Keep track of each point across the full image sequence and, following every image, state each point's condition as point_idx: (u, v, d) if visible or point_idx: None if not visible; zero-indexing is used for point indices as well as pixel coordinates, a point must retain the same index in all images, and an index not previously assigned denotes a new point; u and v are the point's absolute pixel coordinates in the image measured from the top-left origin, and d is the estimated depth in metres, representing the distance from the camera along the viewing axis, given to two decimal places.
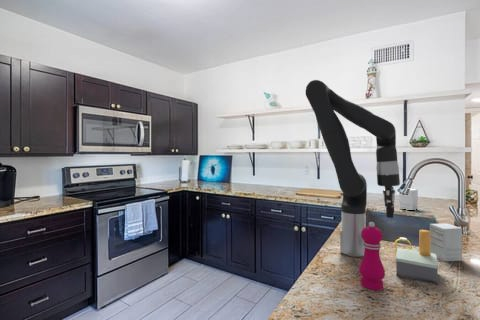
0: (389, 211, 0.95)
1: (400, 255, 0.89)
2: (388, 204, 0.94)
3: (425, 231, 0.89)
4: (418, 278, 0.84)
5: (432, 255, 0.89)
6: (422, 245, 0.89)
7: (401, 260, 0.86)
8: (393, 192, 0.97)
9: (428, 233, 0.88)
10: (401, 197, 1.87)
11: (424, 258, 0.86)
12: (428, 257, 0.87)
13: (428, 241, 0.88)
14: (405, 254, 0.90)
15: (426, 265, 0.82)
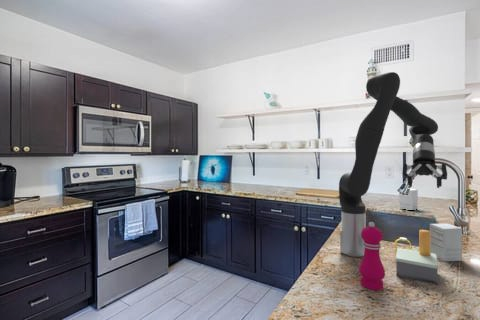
0: None
1: (400, 255, 0.89)
2: None
3: (425, 231, 0.89)
4: (418, 278, 0.84)
5: (432, 255, 0.89)
6: (422, 245, 0.89)
7: (401, 260, 0.86)
8: None
9: (428, 233, 0.88)
10: (401, 197, 1.87)
11: (424, 258, 0.86)
12: (428, 257, 0.87)
13: (428, 241, 0.88)
14: (405, 254, 0.90)
15: (426, 265, 0.82)
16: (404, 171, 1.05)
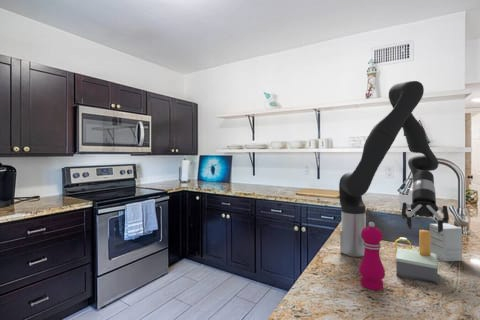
0: (442, 225, 0.92)
1: (400, 255, 0.89)
2: None
3: (425, 231, 0.89)
4: (418, 278, 0.84)
5: (432, 255, 0.89)
6: (422, 245, 0.89)
7: (401, 260, 0.86)
8: None
9: (428, 233, 0.88)
10: (401, 197, 1.87)
11: (424, 258, 0.86)
12: (428, 257, 0.87)
13: (428, 241, 0.88)
14: (405, 254, 0.90)
15: (426, 265, 0.82)
16: (403, 211, 1.00)
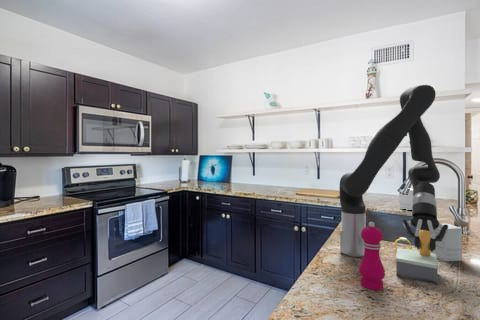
0: None
1: (400, 255, 0.89)
2: None
3: (425, 231, 0.89)
4: (418, 278, 0.84)
5: (432, 255, 0.89)
6: (422, 245, 0.89)
7: (401, 260, 0.86)
8: None
9: (428, 233, 0.88)
10: (401, 197, 1.87)
11: (424, 258, 0.86)
12: (428, 257, 0.87)
13: (428, 241, 0.88)
14: (405, 254, 0.90)
15: (426, 265, 0.82)
16: (409, 229, 0.93)
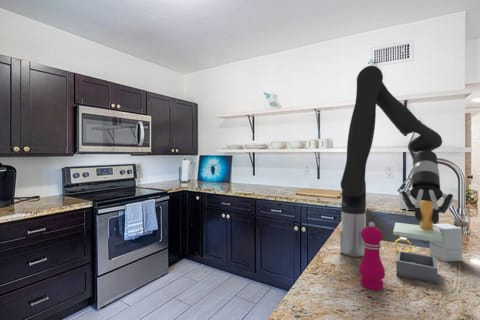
0: None
1: (398, 229, 0.78)
2: None
3: (427, 201, 0.78)
4: (418, 278, 0.84)
5: (434, 228, 0.78)
6: (424, 217, 0.78)
7: (399, 233, 0.75)
8: None
9: (430, 202, 0.77)
10: (401, 197, 1.87)
11: (426, 231, 0.75)
12: (430, 230, 0.76)
13: (430, 213, 0.77)
14: (404, 228, 0.79)
15: (428, 238, 0.71)
16: (408, 201, 0.82)
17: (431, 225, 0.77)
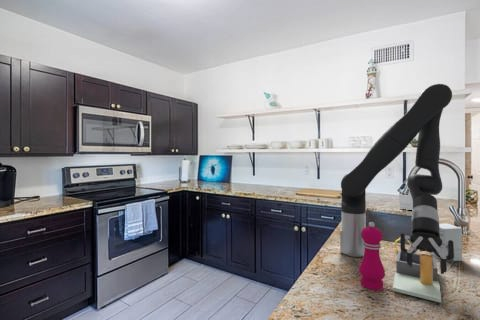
0: None
1: (398, 283, 0.79)
2: None
3: (427, 256, 0.78)
4: None
5: (434, 283, 0.78)
6: (424, 272, 0.78)
7: (399, 290, 0.76)
8: None
9: (430, 258, 0.77)
10: (401, 197, 1.87)
11: (425, 288, 0.76)
12: (430, 287, 0.77)
13: (430, 269, 0.77)
14: (404, 282, 0.80)
15: (427, 298, 0.72)
16: (402, 245, 0.84)
17: (431, 281, 0.78)
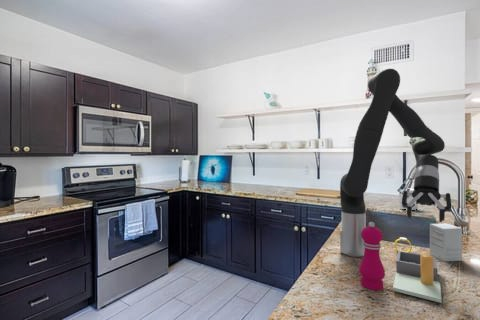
0: None
1: (398, 283, 0.79)
2: None
3: (427, 256, 0.78)
4: None
5: (435, 283, 0.78)
6: (424, 272, 0.78)
7: (399, 290, 0.76)
8: None
9: (430, 259, 0.77)
10: (401, 197, 1.87)
11: (426, 288, 0.76)
12: (430, 287, 0.76)
13: (430, 269, 0.77)
14: (405, 282, 0.80)
15: (427, 298, 0.72)
16: (403, 200, 0.95)
17: (431, 281, 0.77)
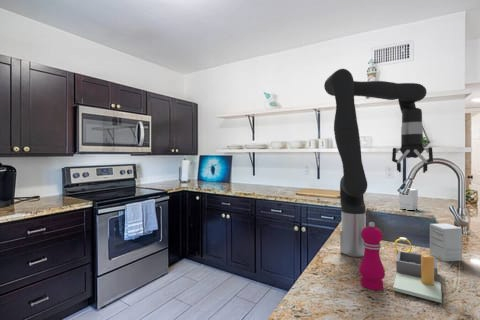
0: None
1: (399, 283, 0.79)
2: None
3: (428, 256, 0.78)
4: None
5: (436, 283, 0.78)
6: (425, 272, 0.78)
7: (399, 290, 0.76)
8: None
9: (431, 259, 0.77)
10: (401, 197, 1.87)
11: (426, 288, 0.76)
12: (431, 287, 0.76)
13: (431, 269, 0.77)
14: (405, 282, 0.80)
15: (428, 298, 0.72)
16: (393, 157, 1.11)
17: (432, 281, 0.77)
